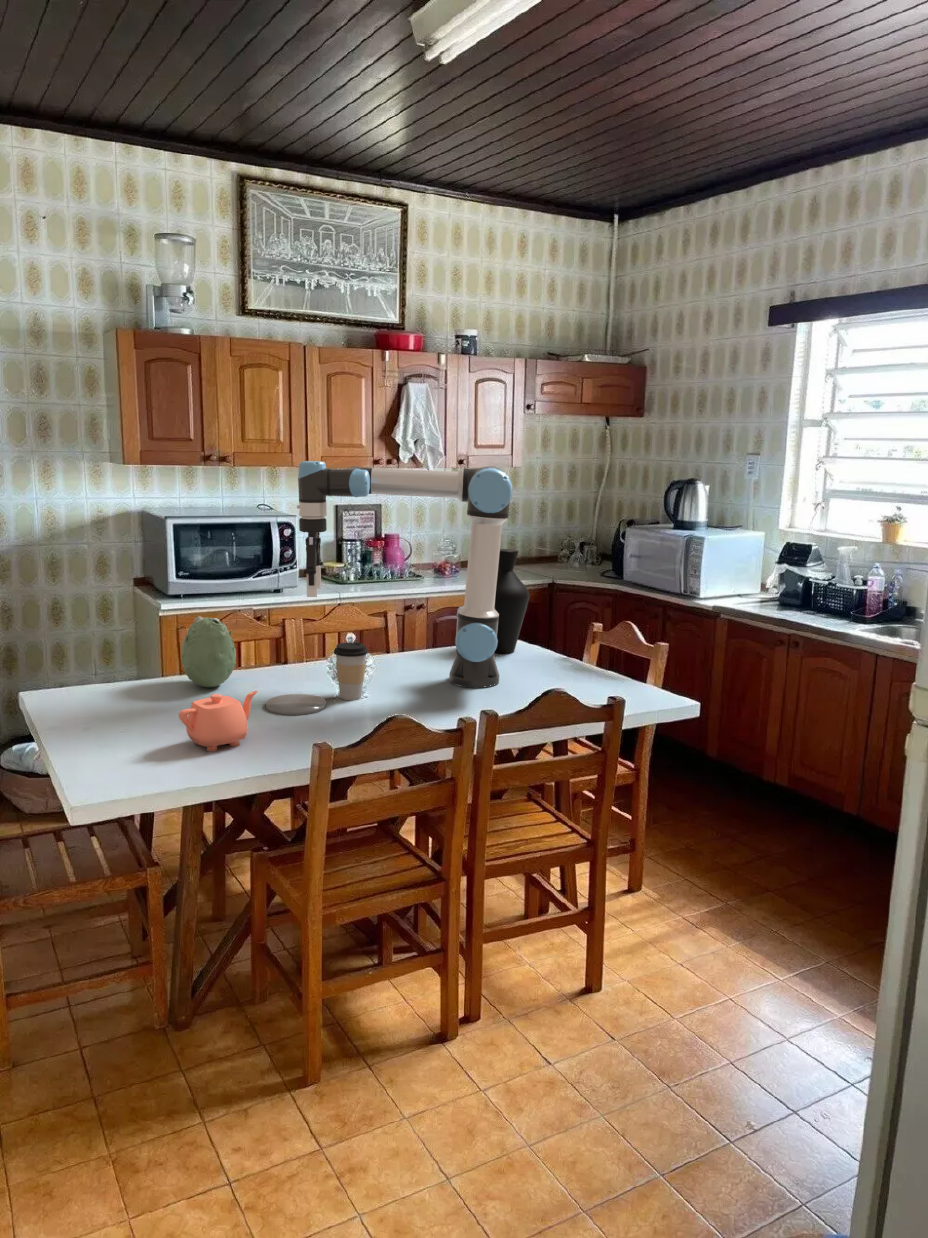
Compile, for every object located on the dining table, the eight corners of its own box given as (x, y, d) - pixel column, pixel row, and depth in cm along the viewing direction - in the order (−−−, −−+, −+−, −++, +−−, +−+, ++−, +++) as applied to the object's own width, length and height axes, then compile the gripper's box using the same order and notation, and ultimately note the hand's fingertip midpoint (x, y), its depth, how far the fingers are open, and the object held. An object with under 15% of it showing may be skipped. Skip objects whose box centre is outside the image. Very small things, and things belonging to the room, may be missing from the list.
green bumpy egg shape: (192, 698, 252) (190, 627, 248) (173, 681, 268) (170, 614, 264) (247, 690, 261) (246, 622, 257) (225, 675, 276) (224, 609, 272)
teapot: (192, 759, 207) (190, 708, 205) (169, 744, 216) (167, 695, 213) (270, 741, 220) (269, 693, 218) (246, 728, 229) (245, 682, 226)
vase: (505, 659, 305) (509, 555, 298) (466, 650, 316) (470, 549, 309) (536, 651, 318) (541, 551, 311) (498, 643, 329) (502, 546, 322)
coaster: (328, 698, 256) (328, 694, 256) (322, 715, 241) (322, 712, 241) (270, 697, 256) (270, 693, 255) (261, 714, 240) (261, 711, 240)
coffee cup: (370, 693, 262) (370, 642, 259) (363, 703, 253) (364, 650, 250) (337, 691, 263) (338, 640, 260) (329, 701, 254) (330, 648, 250)
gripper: (303, 513, 267) (304, 584, 271) (294, 521, 243) (296, 600, 247) (329, 513, 268) (330, 585, 272) (322, 522, 243) (324, 600, 248)
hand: (314, 592), depth 260 cm, fingers open, 13 cm apart
